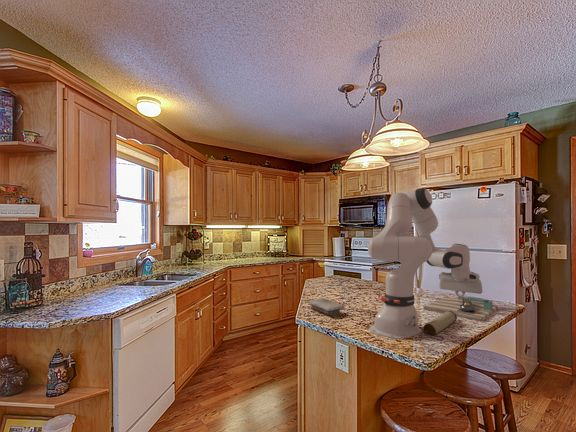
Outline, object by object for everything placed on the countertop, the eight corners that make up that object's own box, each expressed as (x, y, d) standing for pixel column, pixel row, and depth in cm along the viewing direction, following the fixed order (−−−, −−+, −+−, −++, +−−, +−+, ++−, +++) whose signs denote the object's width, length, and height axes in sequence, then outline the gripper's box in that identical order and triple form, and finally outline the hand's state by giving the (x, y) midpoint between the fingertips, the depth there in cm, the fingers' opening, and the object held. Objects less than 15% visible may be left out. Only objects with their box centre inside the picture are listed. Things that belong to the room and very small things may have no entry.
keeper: (490, 310, 148) (490, 301, 148) (466, 306, 156) (466, 297, 156) (492, 309, 150) (492, 300, 150) (468, 305, 158) (468, 296, 158)
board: (482, 321, 138) (482, 317, 138) (423, 309, 156) (423, 306, 156) (497, 308, 158) (497, 305, 158) (444, 299, 176) (444, 296, 176)
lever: (474, 312, 144) (474, 305, 144) (460, 310, 147) (459, 303, 147) (473, 302, 162) (473, 296, 162) (460, 300, 165) (460, 294, 165)
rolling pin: (431, 341, 116) (431, 328, 116) (417, 337, 120) (417, 324, 120) (460, 321, 138) (460, 310, 138) (447, 318, 142) (447, 308, 142)
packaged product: (323, 306, 163) (307, 309, 158) (323, 297, 163) (307, 300, 158) (345, 315, 147) (328, 318, 142) (345, 305, 147) (328, 308, 142)
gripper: (438, 272, 167) (438, 297, 167) (482, 276, 156) (482, 303, 155) (439, 271, 172) (439, 295, 172) (482, 275, 161) (482, 301, 161)
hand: (460, 299), depth 164 cm, fingers closed
